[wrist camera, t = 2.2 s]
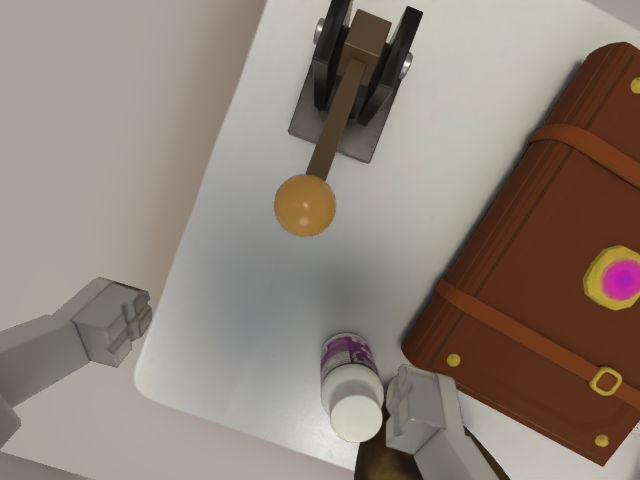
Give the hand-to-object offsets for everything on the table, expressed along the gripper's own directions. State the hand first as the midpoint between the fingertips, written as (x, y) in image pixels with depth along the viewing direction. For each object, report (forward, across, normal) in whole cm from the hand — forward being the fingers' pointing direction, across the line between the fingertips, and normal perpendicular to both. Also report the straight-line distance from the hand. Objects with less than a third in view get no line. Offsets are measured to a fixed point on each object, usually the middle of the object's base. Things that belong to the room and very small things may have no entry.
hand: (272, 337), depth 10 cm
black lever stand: (+26, +1, -2) cm, 26 cm away
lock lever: (+13, +1, -2) cm, 13 cm away
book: (+23, -25, +7) cm, 35 cm away
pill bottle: (+15, -6, +20) cm, 26 cm away
